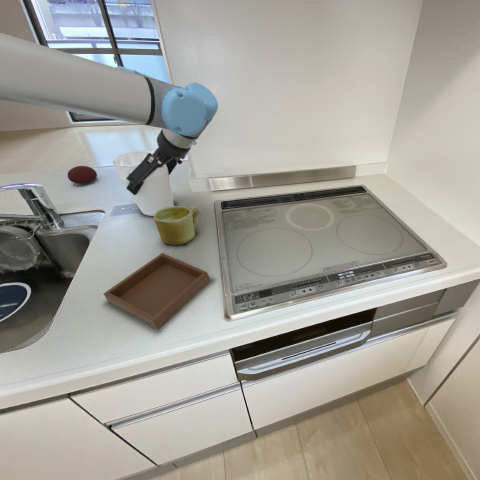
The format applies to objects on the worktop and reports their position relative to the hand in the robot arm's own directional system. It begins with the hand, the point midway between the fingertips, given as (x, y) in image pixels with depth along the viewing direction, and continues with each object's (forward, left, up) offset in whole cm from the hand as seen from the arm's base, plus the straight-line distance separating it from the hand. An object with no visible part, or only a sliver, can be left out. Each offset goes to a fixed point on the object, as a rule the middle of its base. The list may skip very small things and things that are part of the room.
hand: (149, 181), depth 79 cm
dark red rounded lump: (-38, 0, -10) cm, 39 cm away
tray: (+29, -24, -10) cm, 39 cm away
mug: (+17, -6, -10) cm, 21 cm away
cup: (-1, 0, -10) cm, 10 cm away
